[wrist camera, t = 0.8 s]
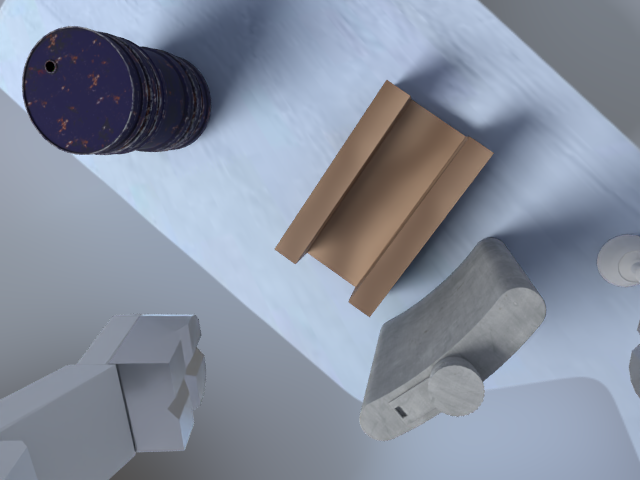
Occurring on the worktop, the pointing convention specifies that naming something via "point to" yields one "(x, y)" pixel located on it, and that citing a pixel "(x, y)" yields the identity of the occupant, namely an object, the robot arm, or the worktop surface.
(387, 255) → the u rest
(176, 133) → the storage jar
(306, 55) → the worktop surface
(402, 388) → the hip flask
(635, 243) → the chalice
